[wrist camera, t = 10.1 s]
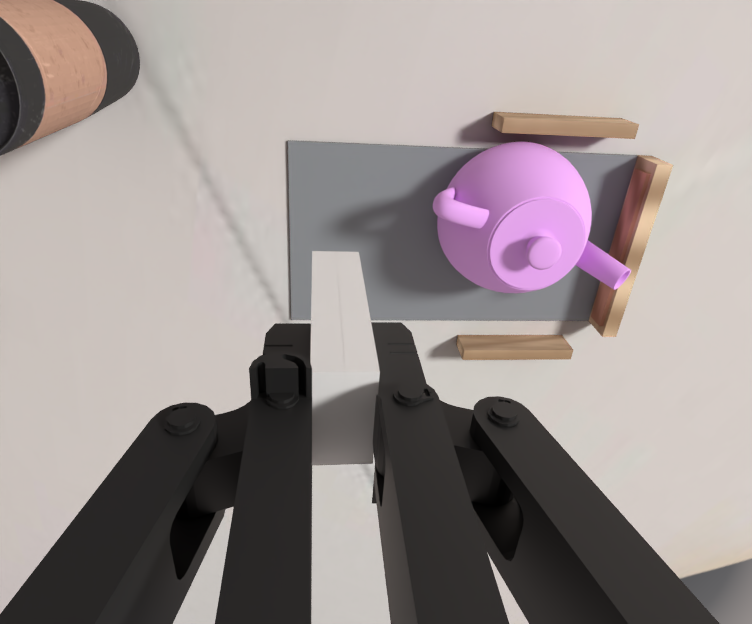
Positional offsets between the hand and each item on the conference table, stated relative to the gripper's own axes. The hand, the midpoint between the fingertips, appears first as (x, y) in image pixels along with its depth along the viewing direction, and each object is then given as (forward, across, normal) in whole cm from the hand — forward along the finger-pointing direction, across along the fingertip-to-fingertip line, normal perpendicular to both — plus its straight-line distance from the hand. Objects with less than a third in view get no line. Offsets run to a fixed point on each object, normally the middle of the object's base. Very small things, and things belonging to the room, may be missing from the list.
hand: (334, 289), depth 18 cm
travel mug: (+33, -18, +4) cm, 37 cm away
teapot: (+32, +18, -8) cm, 38 cm away
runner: (+32, +14, -11) cm, 37 cm away
